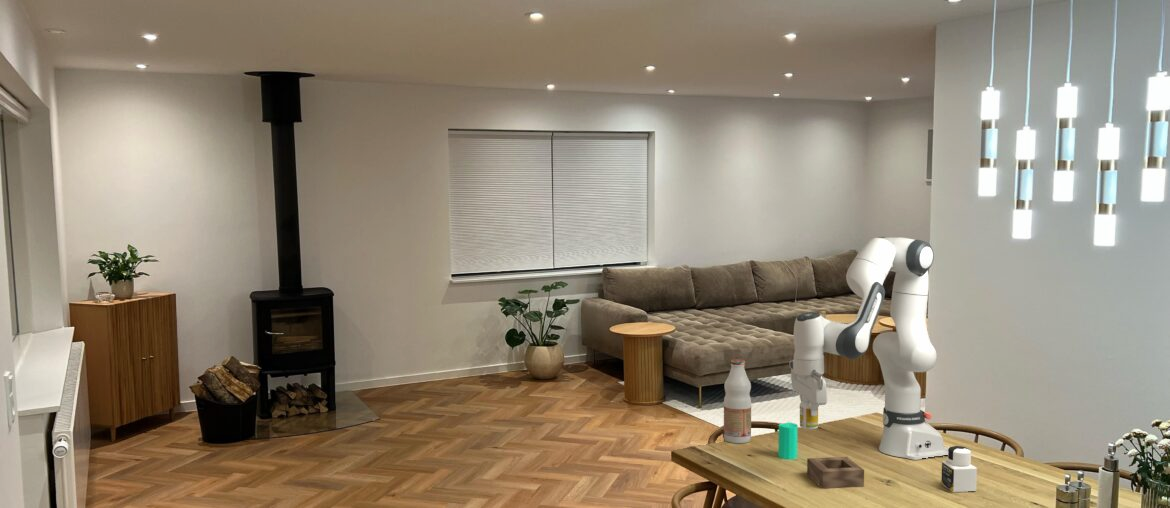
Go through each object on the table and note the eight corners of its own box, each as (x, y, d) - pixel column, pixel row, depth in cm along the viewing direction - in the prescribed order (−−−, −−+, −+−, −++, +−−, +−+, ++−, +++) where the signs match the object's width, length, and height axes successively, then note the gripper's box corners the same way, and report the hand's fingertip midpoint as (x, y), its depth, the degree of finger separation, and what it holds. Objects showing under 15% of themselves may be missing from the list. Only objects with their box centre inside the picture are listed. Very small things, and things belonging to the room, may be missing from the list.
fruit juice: (729, 444, 296) (729, 363, 294) (719, 437, 305) (720, 358, 303) (755, 443, 298) (756, 362, 296) (744, 435, 307) (745, 357, 305)
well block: (846, 472, 267) (846, 456, 267) (863, 486, 255) (864, 469, 254) (807, 474, 265) (807, 458, 265) (822, 488, 253) (823, 471, 253)
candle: (795, 453, 286) (796, 418, 285) (798, 459, 280) (798, 423, 279) (777, 453, 286) (777, 417, 285) (779, 459, 280) (779, 422, 279)
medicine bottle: (940, 484, 256) (941, 444, 255) (964, 483, 257) (965, 443, 256) (952, 492, 249) (953, 451, 248) (976, 491, 250) (978, 451, 249)
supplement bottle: (821, 426, 261) (821, 395, 260) (812, 430, 257) (812, 398, 257) (805, 423, 265) (805, 392, 264) (796, 427, 261) (796, 395, 260)
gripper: (832, 374, 250) (832, 421, 251) (807, 359, 270) (807, 403, 271) (811, 375, 249) (811, 422, 250) (787, 360, 269) (787, 404, 270)
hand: (809, 412), depth 261 cm, fingers closed on supplement bottle, 5 cm apart
